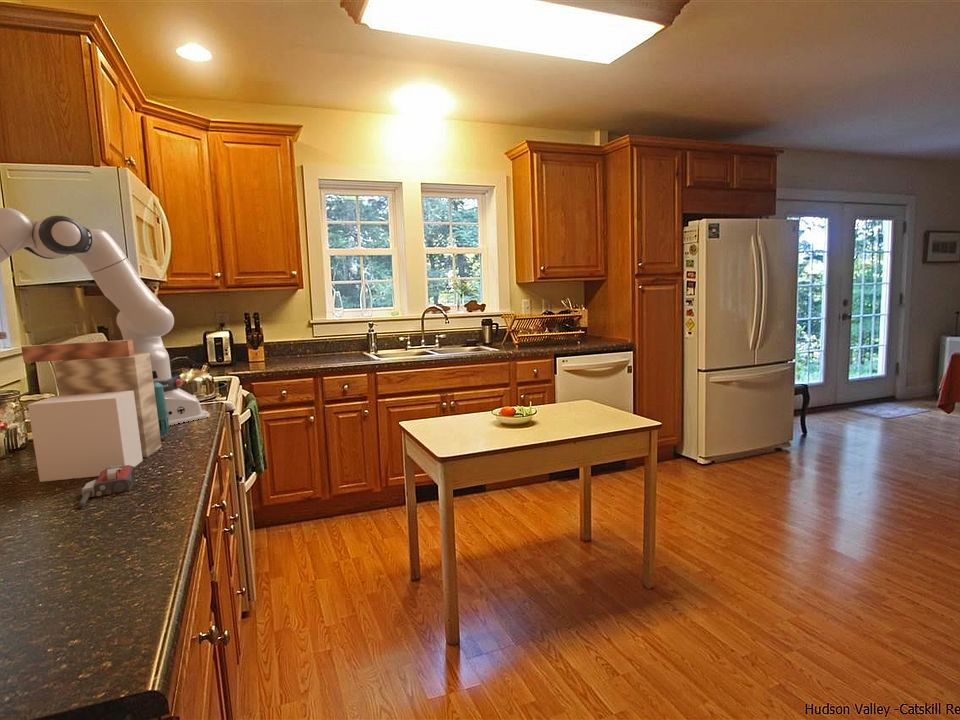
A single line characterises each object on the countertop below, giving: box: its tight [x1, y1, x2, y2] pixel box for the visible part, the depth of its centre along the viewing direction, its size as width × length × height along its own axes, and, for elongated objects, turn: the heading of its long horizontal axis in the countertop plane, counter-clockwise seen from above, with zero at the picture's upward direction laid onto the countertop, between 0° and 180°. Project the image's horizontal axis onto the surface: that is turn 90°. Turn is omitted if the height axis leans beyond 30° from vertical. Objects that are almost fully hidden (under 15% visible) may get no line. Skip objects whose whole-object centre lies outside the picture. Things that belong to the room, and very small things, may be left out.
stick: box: [20, 339, 134, 364], centre depth 143 cm, size 24×3×4 cm, turn 101°
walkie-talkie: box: [78, 465, 136, 507], centre depth 120 cm, size 9×4×20 cm
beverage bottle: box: [152, 371, 170, 437], centre depth 161 cm, size 6×7×20 cm
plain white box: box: [27, 391, 144, 483], centre depth 134 cm, size 18×10×18 cm, turn 101°
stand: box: [53, 353, 162, 459], centre depth 146 cm, size 18×10×26 cm, turn 101°
